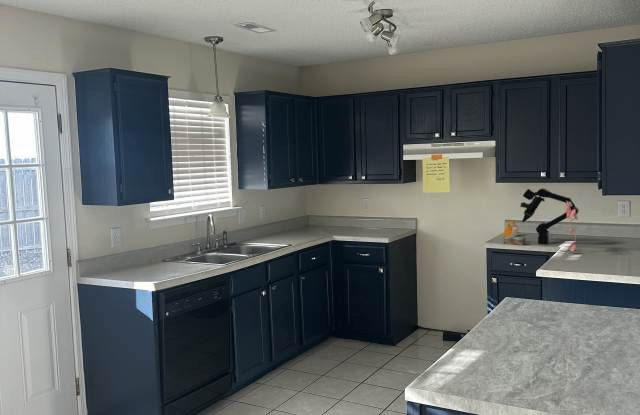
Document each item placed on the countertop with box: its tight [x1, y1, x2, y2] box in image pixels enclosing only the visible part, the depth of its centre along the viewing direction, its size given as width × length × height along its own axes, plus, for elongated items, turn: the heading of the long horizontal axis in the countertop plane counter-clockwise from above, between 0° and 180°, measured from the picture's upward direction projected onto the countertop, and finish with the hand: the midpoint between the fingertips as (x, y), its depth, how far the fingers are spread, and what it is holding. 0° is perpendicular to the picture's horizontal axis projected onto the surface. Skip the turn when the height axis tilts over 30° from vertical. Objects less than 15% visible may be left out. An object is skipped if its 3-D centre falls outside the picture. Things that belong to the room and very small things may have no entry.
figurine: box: [565, 201, 579, 252], centre depth 410 cm, size 15×26×35 cm, turn 166°
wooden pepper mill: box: [512, 224, 519, 237], centre depth 452 cm, size 4×4×13 cm
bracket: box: [502, 220, 516, 237], centre depth 481 cm, size 11×7×12 cm, turn 64°
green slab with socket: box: [502, 236, 527, 246], centre depth 449 cm, size 15×12×5 cm
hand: (523, 221), depth 451 cm, fingers open, 9 cm apart
